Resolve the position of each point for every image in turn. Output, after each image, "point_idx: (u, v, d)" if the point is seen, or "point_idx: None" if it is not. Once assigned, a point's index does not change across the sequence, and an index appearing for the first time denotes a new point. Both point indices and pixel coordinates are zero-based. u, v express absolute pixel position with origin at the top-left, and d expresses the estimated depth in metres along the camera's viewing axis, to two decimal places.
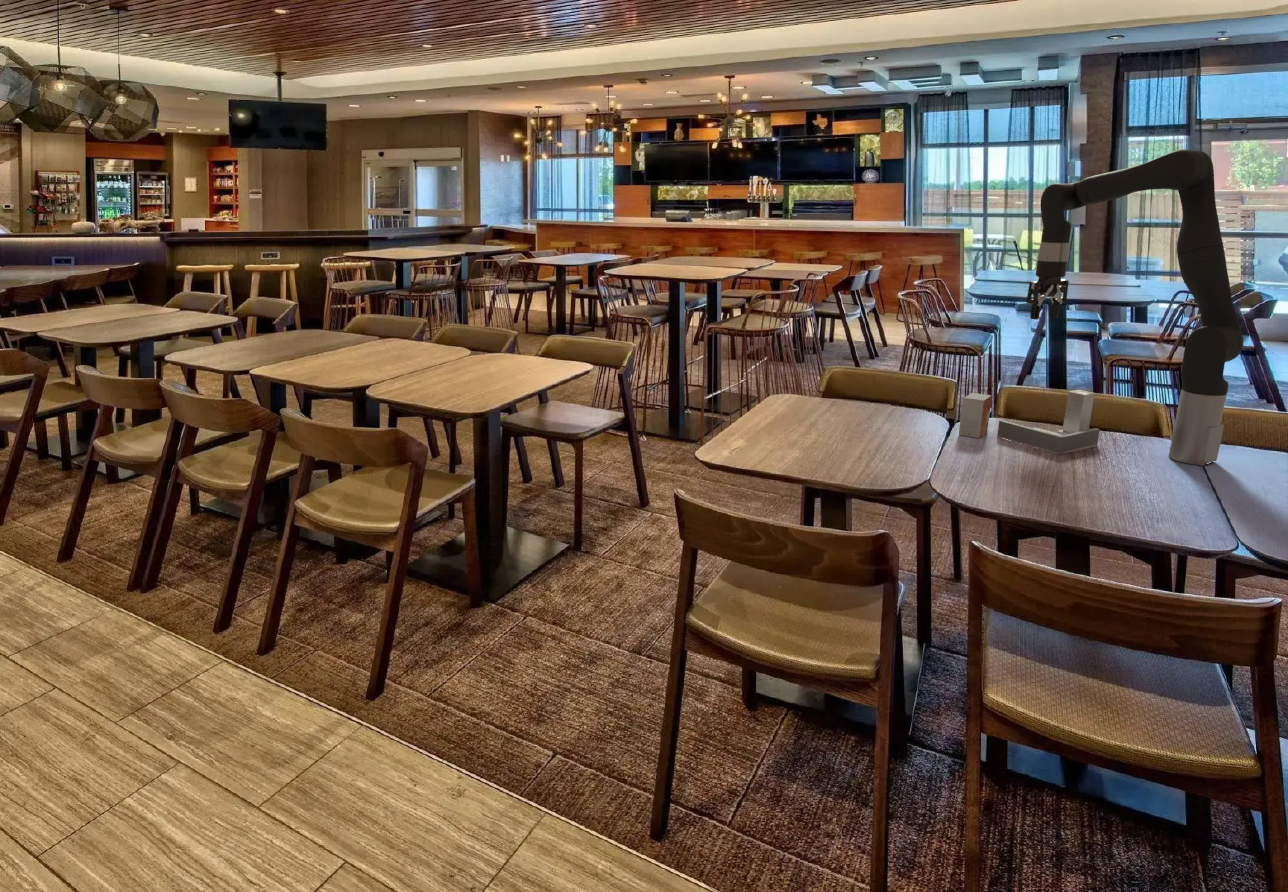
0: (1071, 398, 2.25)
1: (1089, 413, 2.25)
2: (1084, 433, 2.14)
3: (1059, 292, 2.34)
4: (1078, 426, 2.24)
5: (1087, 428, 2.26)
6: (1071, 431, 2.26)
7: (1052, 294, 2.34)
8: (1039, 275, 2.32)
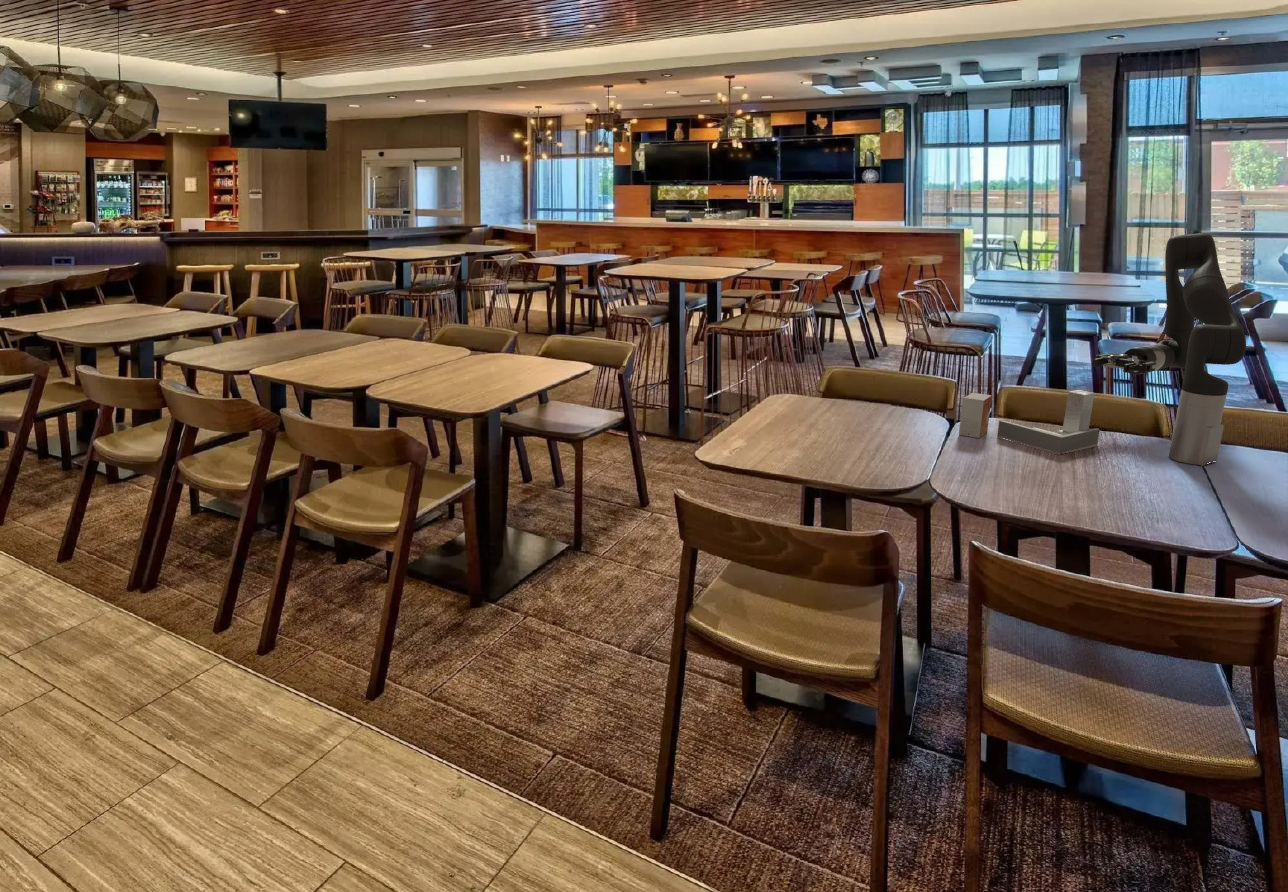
0: (1071, 398, 2.25)
1: (1089, 413, 2.25)
2: (1084, 433, 2.14)
3: (1135, 358, 2.29)
4: (1078, 426, 2.24)
5: (1087, 428, 2.26)
6: (1071, 431, 2.26)
7: (1126, 359, 2.31)
8: None
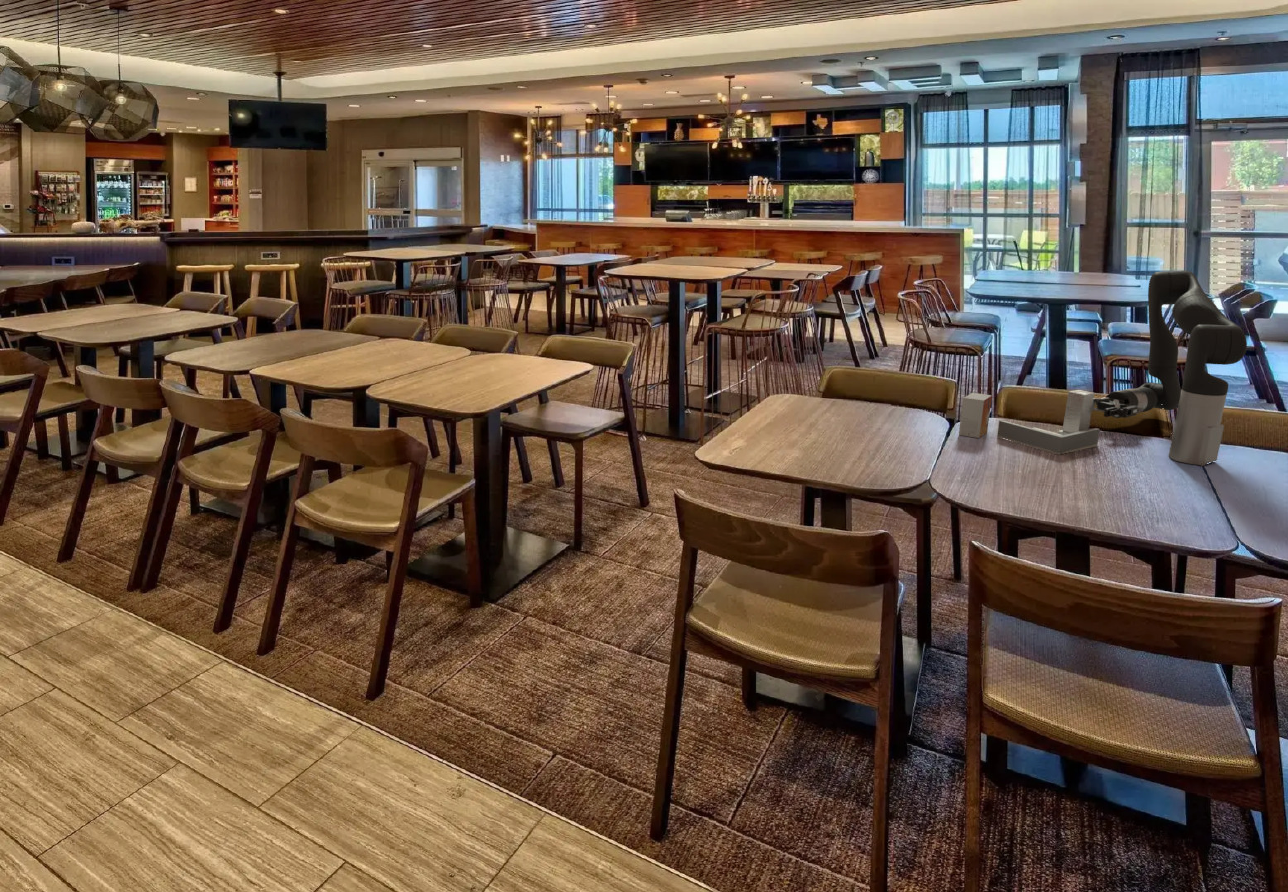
0: (1071, 398, 2.25)
1: (1089, 413, 2.25)
2: (1084, 433, 2.14)
3: (1117, 402, 2.29)
4: (1078, 426, 2.24)
5: (1087, 428, 2.26)
6: (1071, 431, 2.26)
7: (1108, 403, 2.31)
8: None
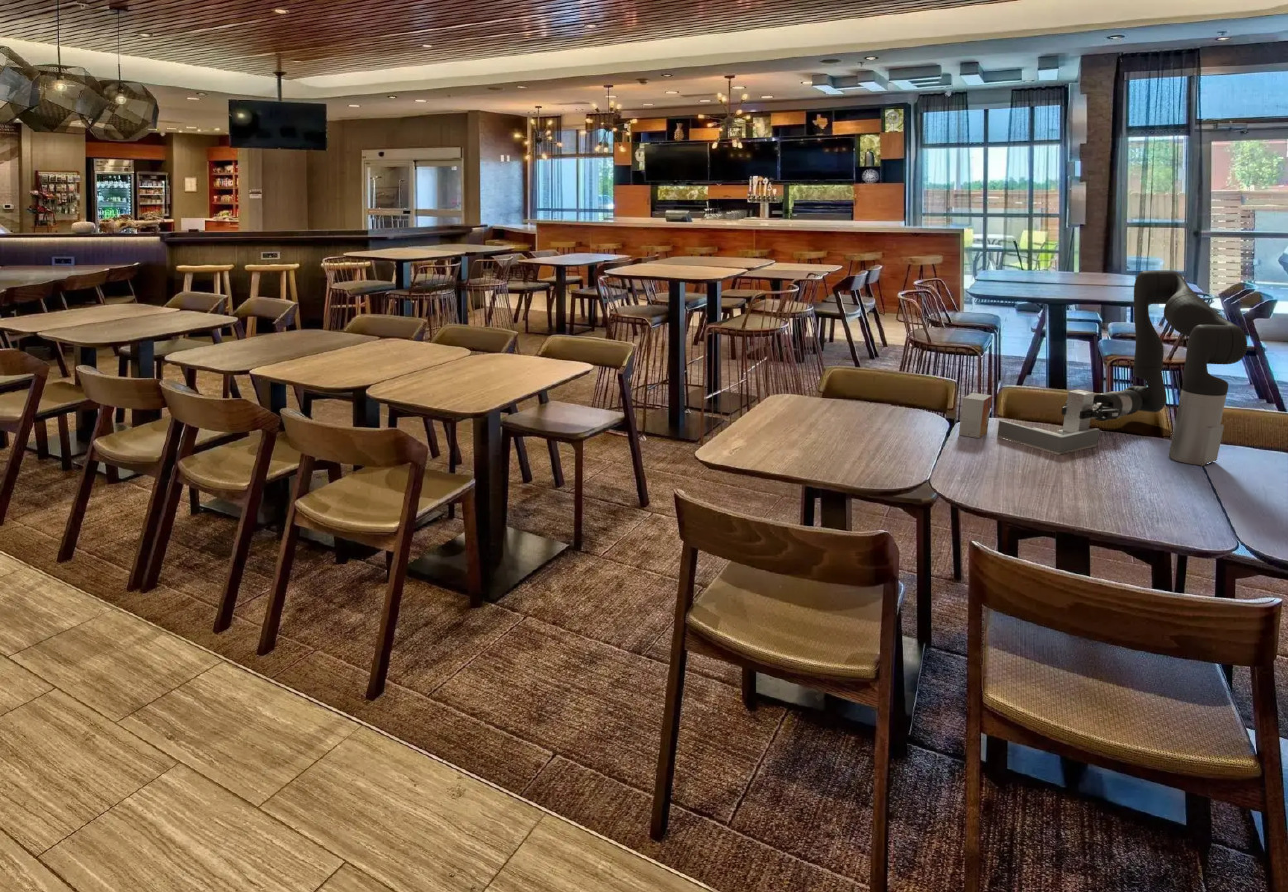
0: (1071, 398, 2.25)
1: None
2: (1084, 433, 2.14)
3: (1097, 405, 2.26)
4: (1078, 426, 2.24)
5: (1087, 428, 2.26)
6: (1071, 431, 2.26)
7: (1092, 406, 2.28)
8: None
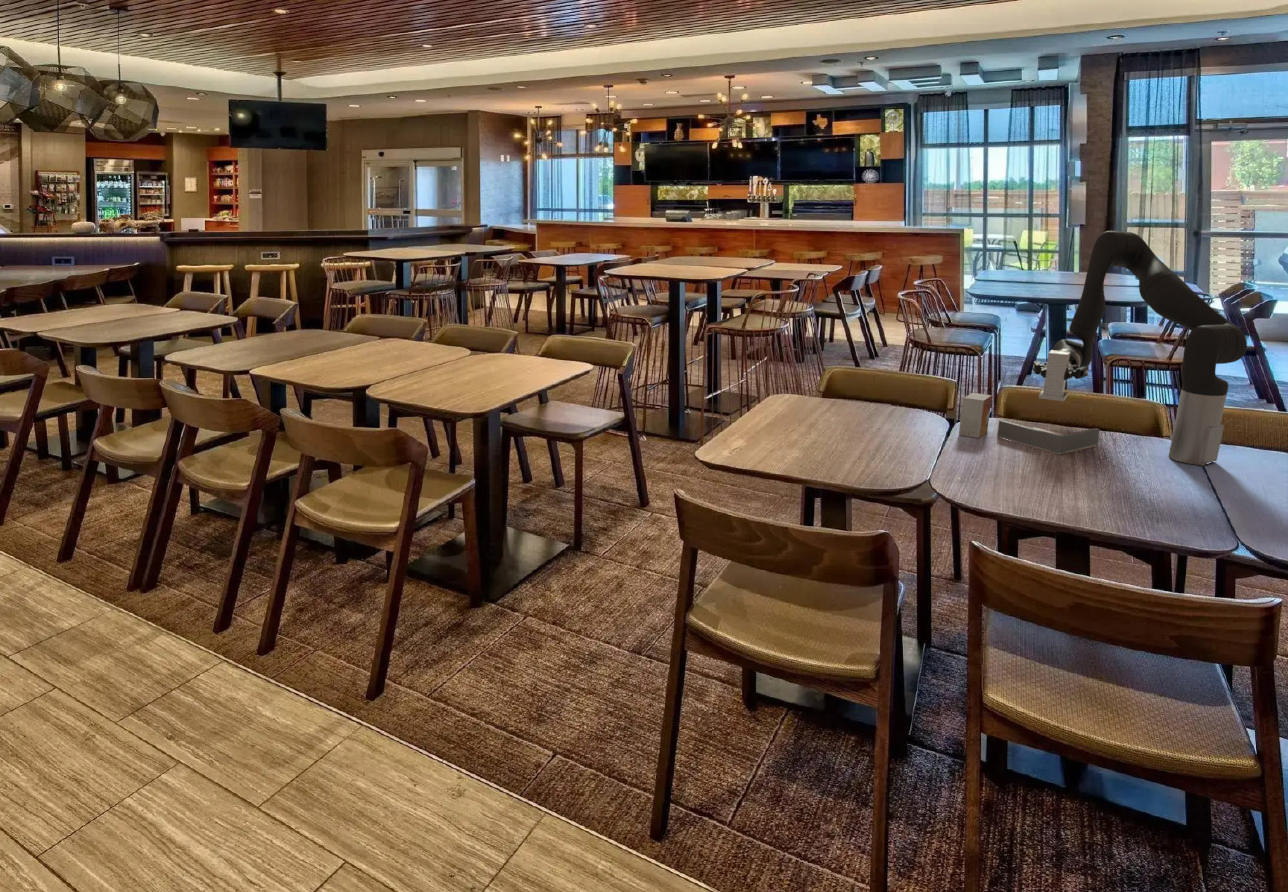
0: (1052, 359, 2.17)
1: None
2: (1084, 433, 2.14)
3: (1068, 364, 2.22)
4: (1062, 387, 2.18)
5: (1064, 388, 2.21)
6: (1053, 393, 2.19)
7: None
8: None
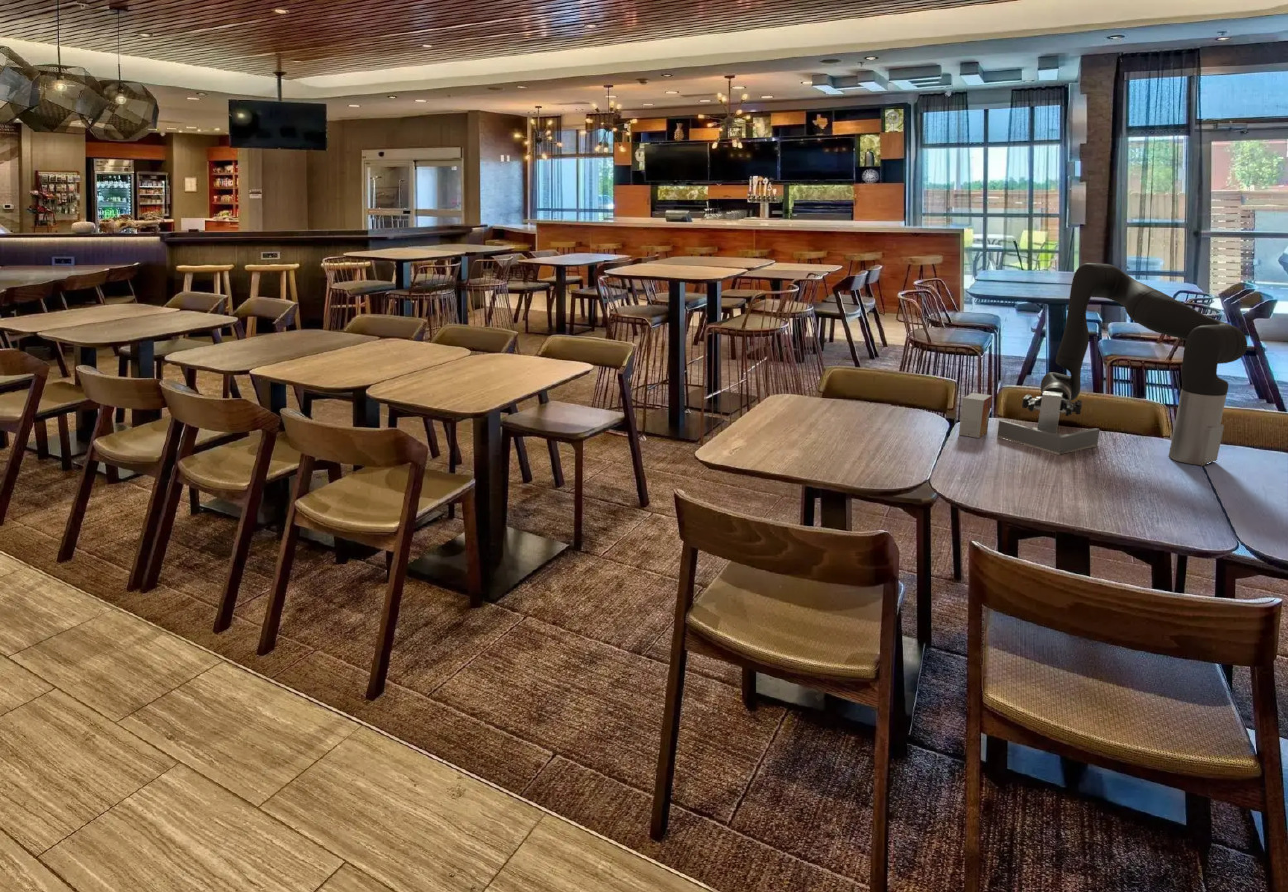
0: (1046, 401, 2.19)
1: None
2: (1084, 433, 2.14)
3: (1064, 399, 2.24)
4: (1055, 428, 2.20)
5: None
6: None
7: None
8: None
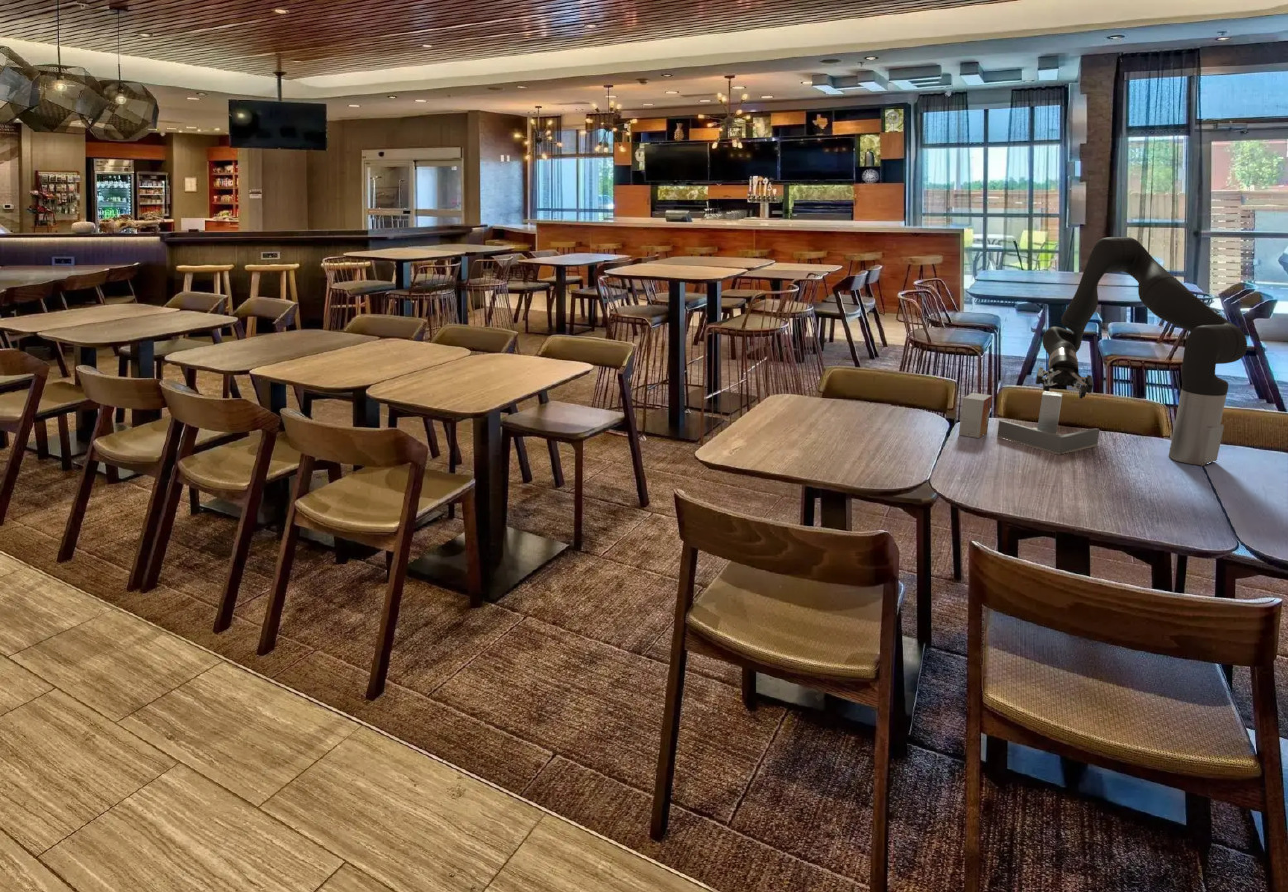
0: (1046, 401, 2.19)
1: None
2: (1084, 433, 2.14)
3: (1076, 376, 2.32)
4: (1055, 428, 2.20)
5: None
6: None
7: (1067, 378, 2.33)
8: None
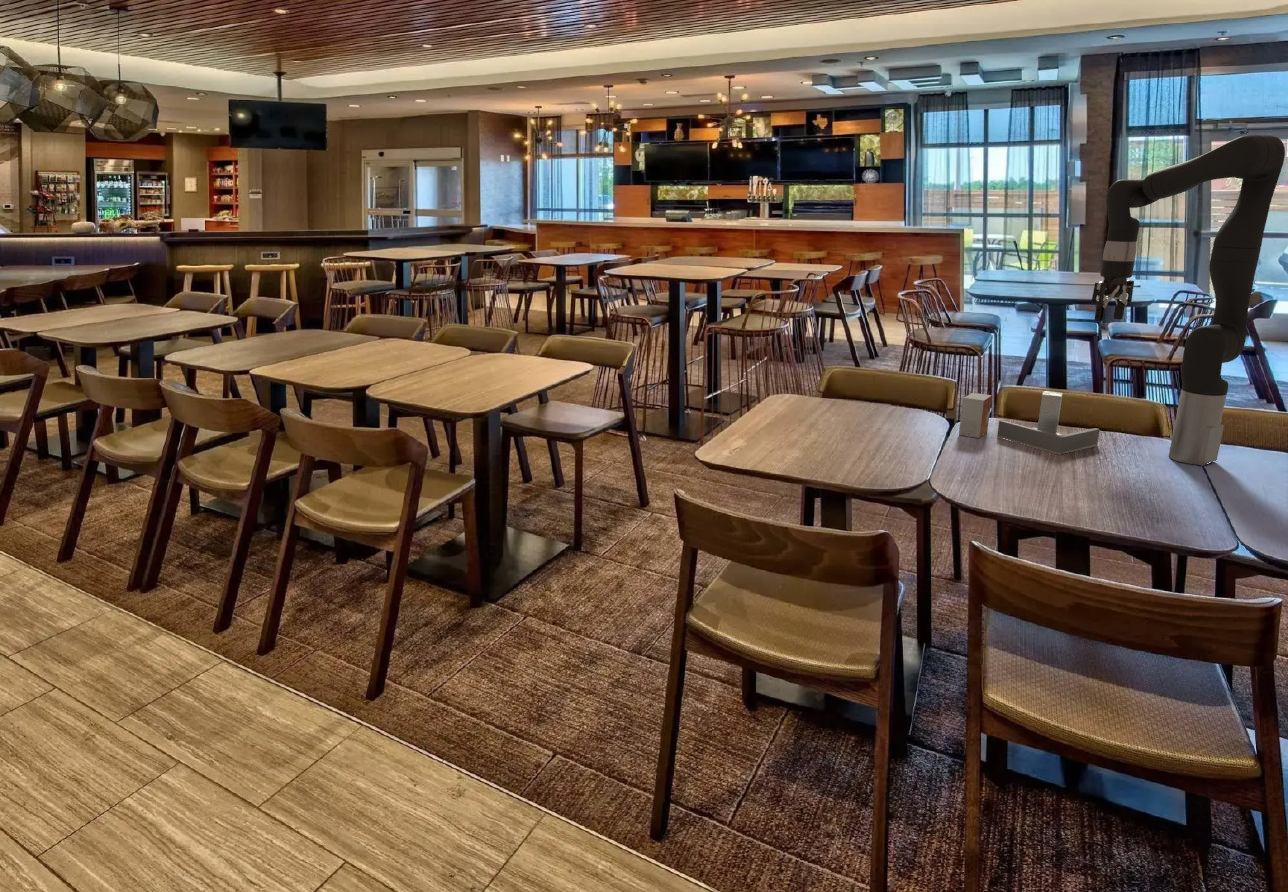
0: (1046, 401, 2.19)
1: None
2: (1084, 433, 2.14)
3: (1125, 293, 2.24)
4: (1055, 428, 2.20)
5: None
6: None
7: (1117, 295, 2.24)
8: (1105, 275, 2.22)
